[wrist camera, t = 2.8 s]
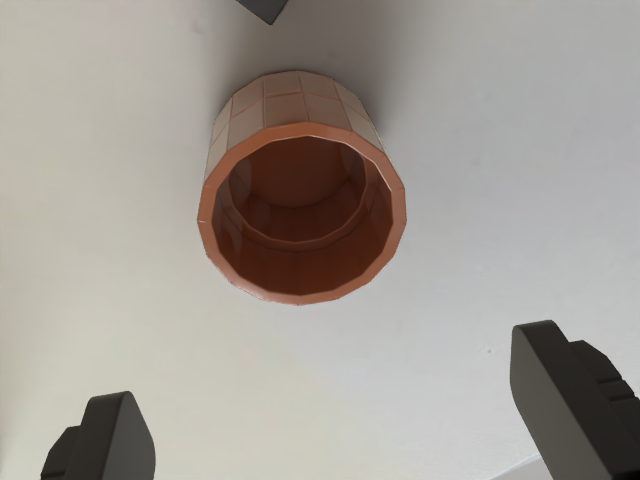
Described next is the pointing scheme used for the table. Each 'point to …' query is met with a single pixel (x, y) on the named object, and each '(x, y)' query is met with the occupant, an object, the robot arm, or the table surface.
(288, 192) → the terracotta flower pot
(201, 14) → the table surface
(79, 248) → the table surface
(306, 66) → the table surface
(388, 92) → the table surface
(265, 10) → the scale
